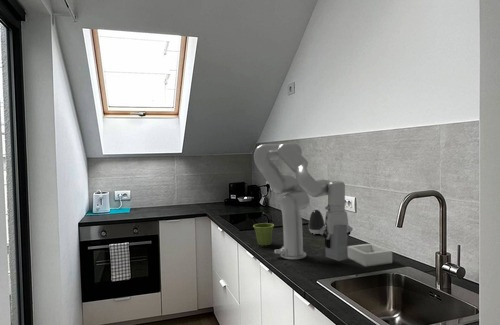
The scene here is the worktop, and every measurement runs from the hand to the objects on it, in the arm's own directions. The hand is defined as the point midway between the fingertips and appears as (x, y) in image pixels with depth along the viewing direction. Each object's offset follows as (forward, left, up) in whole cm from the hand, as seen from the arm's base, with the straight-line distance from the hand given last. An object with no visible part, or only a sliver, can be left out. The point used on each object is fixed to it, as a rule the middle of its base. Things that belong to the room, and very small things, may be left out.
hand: (335, 246), depth 160 cm
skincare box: (0, 0, -6) cm, 6 cm away
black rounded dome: (+19, +58, -8) cm, 61 cm away
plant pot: (-20, +45, -8) cm, 50 cm away
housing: (+17, -1, -8) cm, 18 cm away
